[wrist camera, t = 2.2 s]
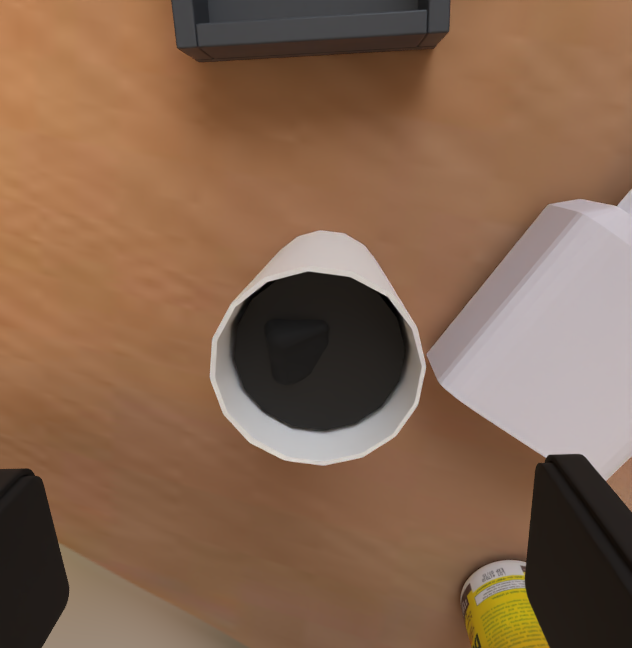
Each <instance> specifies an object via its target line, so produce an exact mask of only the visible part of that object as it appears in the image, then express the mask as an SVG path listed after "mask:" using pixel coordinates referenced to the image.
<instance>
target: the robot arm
mask: <svg viewBox="0 0 632 648" xmlns="http://www.w3.org/2000/svg"><path fill="white" fill-rule="evenodd" d="M525 588H526V593H527V597H528V600H529V602H530V604H531V607H532V609H533V611H534V614H535V616H536V618H537V620H538V623H539V625H540V627H541V629H542V632H543V634H544V636H545V638H546V641H547V643H548V645H549V647H550V648H632V512H631V511H630V510H629V509H628V507H627V506H626V505H625V504H624V503H623V501H622V500H621V499H620V498H619V497H618V495H617V494H616V493H615V492H614V491H613V489H612V488H611V487H610V486H609V485H608V483H607V482H606V481H605V480H604V479H603V477H602V476H601V475H600V474H599V473H598V472H597V470H596V469H595V468H594V467H593V466H592V464H591V463H590V462H589V461H588V460H587V458H586V457H585V456H583V455H582V454H554V455H548V456H547V457H546V459H545V463H538V464H537V466H536V470H535V479H534V489H533V500H532V510H531V520H530V530H529V540H528V550H527V560H526V570H525ZM68 597H69V584H68V580H67V576H66V572H65V568H64V564H63V560H62V556H61V552H60V548H59V544H58V540H57V536H56V532H55V528H54V524H53V520H52V516H51V512H50V508H49V504H48V500H47V496H46V492H45V488H44V484H43V482H42V479H41V478H40V477H38V476H35V475H34V473H33V472H32V471H31V470H30V469H0V648H42V646H43V644H44V643H45V641H46V639H47V638H48V636H49V634H50V633H51V631H52V629H53V627H54V626H55V624H56V622H57V621H58V619H59V617H60V615H61V614H62V612H63V610H64V608H65V606H66V604H67V601H68Z"/></svg>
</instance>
